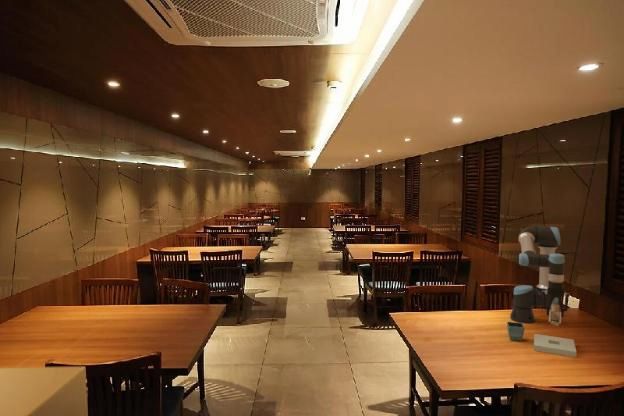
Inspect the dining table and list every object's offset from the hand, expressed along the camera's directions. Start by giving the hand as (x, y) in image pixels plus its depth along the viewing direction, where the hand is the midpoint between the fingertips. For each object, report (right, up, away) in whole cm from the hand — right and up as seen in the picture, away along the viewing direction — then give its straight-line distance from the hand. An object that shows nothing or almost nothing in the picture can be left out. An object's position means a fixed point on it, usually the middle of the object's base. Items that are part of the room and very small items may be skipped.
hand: (554, 321), depth 234 cm
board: (0, -15, +1) cm, 15 cm away
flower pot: (-16, -14, +14) cm, 25 cm away
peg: (0, -2, 0) cm, 2 cm away
